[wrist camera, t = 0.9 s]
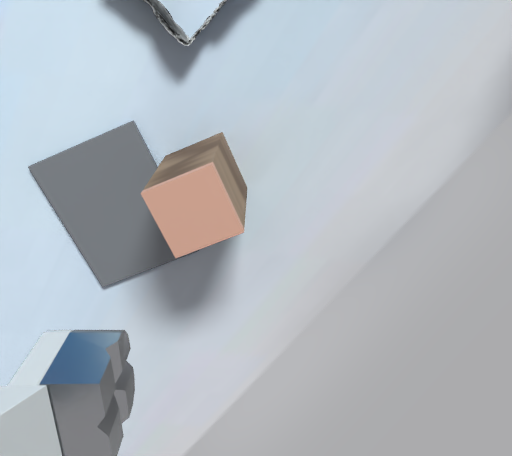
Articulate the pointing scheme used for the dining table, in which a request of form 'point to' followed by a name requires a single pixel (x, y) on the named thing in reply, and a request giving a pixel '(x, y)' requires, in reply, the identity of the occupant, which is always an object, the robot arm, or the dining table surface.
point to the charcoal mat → (107, 202)
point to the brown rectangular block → (197, 196)
